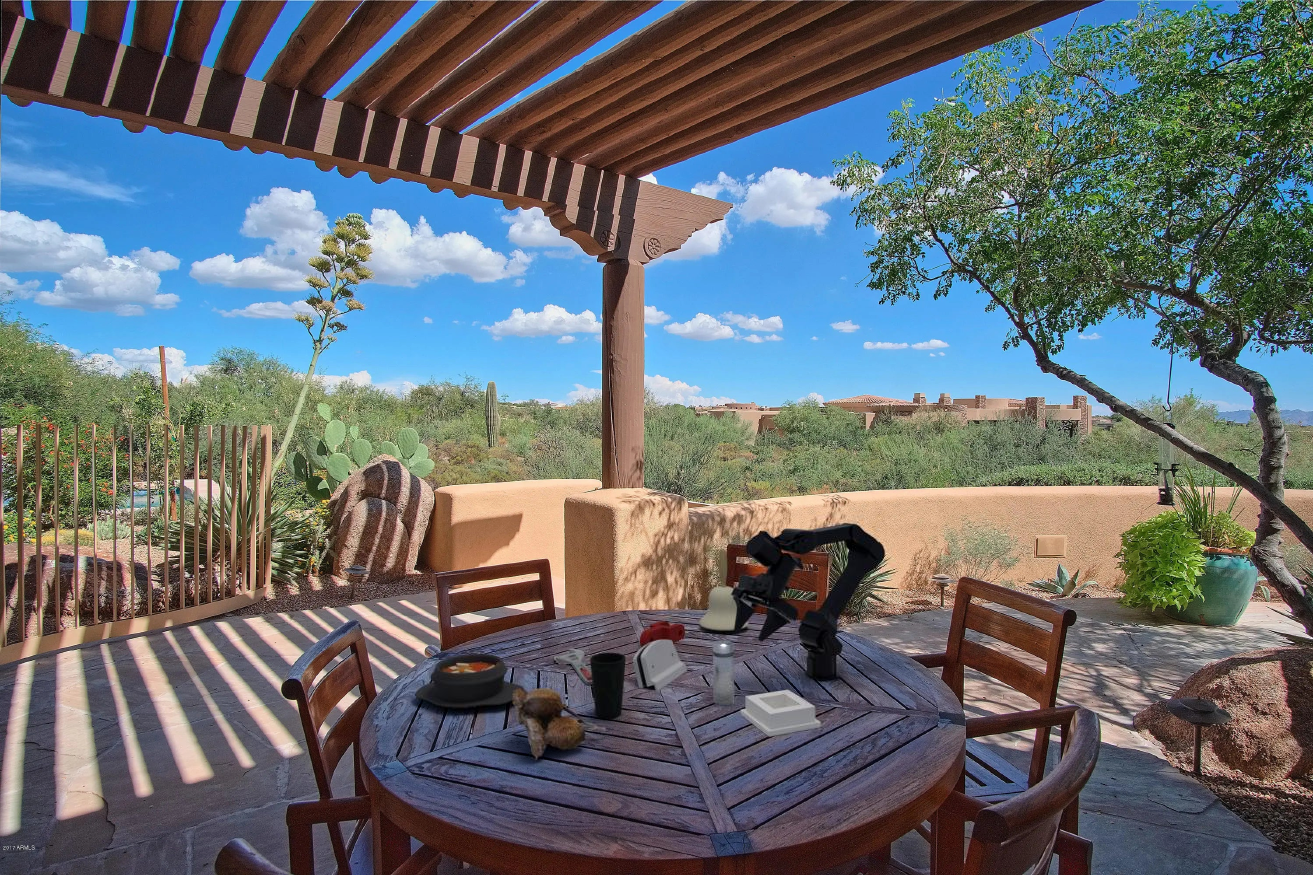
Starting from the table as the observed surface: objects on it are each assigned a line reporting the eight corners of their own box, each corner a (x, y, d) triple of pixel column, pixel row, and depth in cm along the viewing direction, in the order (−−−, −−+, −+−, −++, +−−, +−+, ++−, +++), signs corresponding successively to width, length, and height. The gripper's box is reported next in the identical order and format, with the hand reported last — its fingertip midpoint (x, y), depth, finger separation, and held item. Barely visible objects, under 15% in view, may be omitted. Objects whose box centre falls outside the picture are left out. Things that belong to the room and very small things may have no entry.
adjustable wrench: (563, 690, 163) (564, 681, 163) (552, 657, 188) (552, 649, 188) (598, 687, 165) (598, 679, 165) (581, 655, 190) (582, 647, 190)
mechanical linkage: (665, 635, 208) (665, 619, 208) (685, 639, 204) (685, 622, 204) (633, 648, 195) (632, 630, 195) (653, 652, 191) (653, 634, 191)
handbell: (734, 637, 204) (733, 553, 204) (690, 630, 212) (689, 549, 212) (756, 626, 217) (755, 547, 217) (714, 619, 225) (713, 543, 225)
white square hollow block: (789, 706, 150) (789, 687, 150) (820, 727, 139) (820, 707, 139) (740, 714, 146) (740, 695, 146) (768, 736, 135) (768, 716, 135)
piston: (728, 696, 156) (728, 639, 157) (738, 703, 152) (737, 644, 152) (709, 699, 155) (708, 641, 155) (718, 706, 150) (718, 647, 150)
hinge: (657, 691, 160) (643, 648, 162) (640, 694, 162) (627, 653, 164) (687, 669, 175) (675, 631, 177) (672, 673, 177) (660, 635, 179)
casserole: (537, 689, 162) (537, 654, 162) (501, 720, 144) (501, 680, 144) (442, 682, 168) (442, 647, 168) (396, 710, 150) (396, 672, 150)
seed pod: (534, 688, 144) (492, 688, 131) (603, 680, 138) (565, 679, 126) (536, 757, 139) (492, 764, 126) (607, 751, 133) (568, 758, 121)
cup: (631, 709, 149) (631, 654, 149) (618, 722, 142) (617, 664, 142) (599, 705, 152) (598, 650, 152) (584, 718, 145) (584, 661, 145)
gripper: (731, 554, 168) (701, 611, 163) (780, 565, 151) (748, 628, 147) (761, 576, 172) (732, 632, 168) (812, 589, 156) (782, 652, 151)
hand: (747, 635), depth 158 cm, fingers open, 9 cm apart
